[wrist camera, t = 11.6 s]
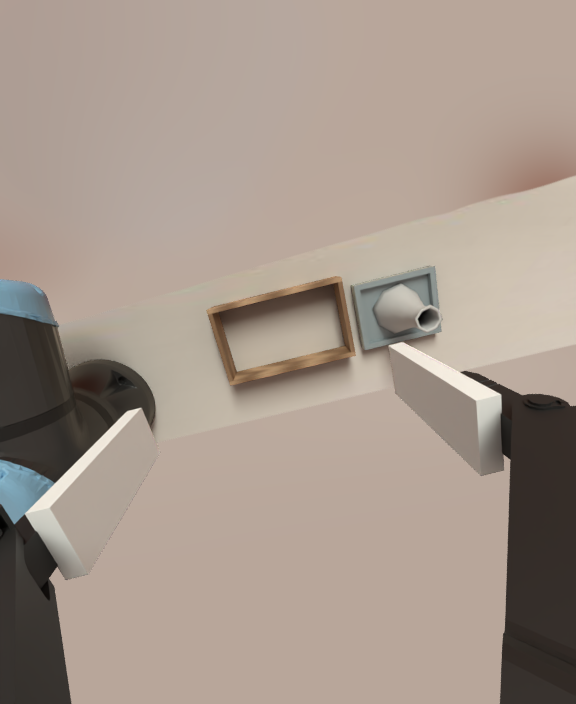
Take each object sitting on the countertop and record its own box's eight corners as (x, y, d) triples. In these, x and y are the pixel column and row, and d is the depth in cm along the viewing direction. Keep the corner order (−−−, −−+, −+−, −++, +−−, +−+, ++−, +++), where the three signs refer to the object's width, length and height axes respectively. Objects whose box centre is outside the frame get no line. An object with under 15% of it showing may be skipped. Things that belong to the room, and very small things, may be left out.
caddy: (234, 376, 48) (230, 385, 44) (212, 306, 45) (206, 310, 41) (349, 348, 47) (355, 355, 43) (335, 276, 44) (341, 276, 40)
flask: (429, 309, 45) (470, 319, 35) (392, 341, 46) (422, 360, 37) (400, 274, 44) (435, 275, 34) (363, 308, 45) (387, 318, 35)
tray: (361, 347, 47) (365, 350, 45) (350, 285, 45) (353, 286, 43) (435, 329, 47) (441, 331, 45) (428, 266, 44) (435, 266, 42)
